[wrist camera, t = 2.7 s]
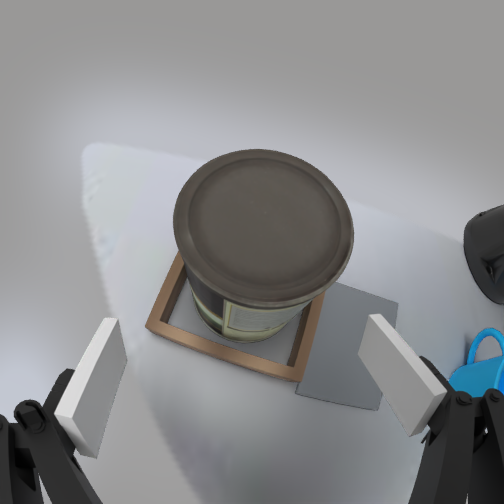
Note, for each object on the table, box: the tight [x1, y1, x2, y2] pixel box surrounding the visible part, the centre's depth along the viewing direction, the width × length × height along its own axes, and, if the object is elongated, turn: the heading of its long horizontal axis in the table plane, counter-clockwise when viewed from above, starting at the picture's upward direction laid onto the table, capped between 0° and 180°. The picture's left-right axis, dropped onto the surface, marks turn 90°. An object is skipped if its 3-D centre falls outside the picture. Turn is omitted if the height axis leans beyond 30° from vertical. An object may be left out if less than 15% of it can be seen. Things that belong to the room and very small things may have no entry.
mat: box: [295, 282, 398, 410], centre depth 27 cm, size 9×12×1 cm
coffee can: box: [173, 149, 354, 343], centre depth 22 cm, size 10×10×14 cm
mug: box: [448, 328, 504, 397], centre depth 22 cm, size 12×8×8 cm
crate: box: [145, 251, 326, 382], centre depth 27 cm, size 14×14×3 cm
